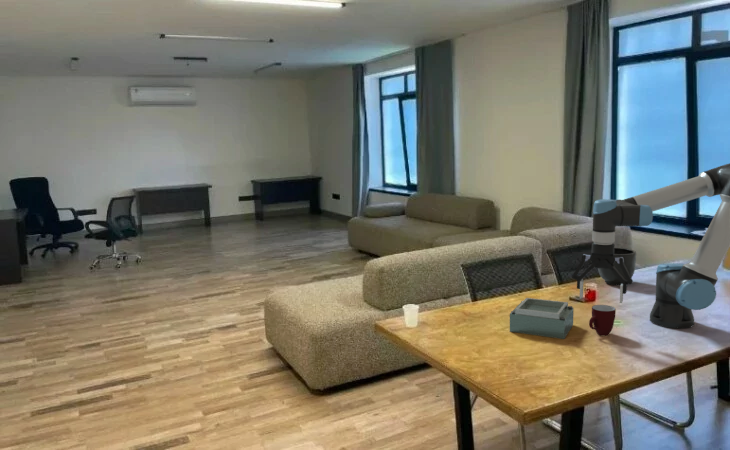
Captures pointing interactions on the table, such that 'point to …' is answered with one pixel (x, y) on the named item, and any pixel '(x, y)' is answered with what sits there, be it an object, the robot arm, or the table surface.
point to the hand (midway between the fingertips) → (600, 299)
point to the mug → (602, 319)
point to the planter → (628, 261)
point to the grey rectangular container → (542, 318)
